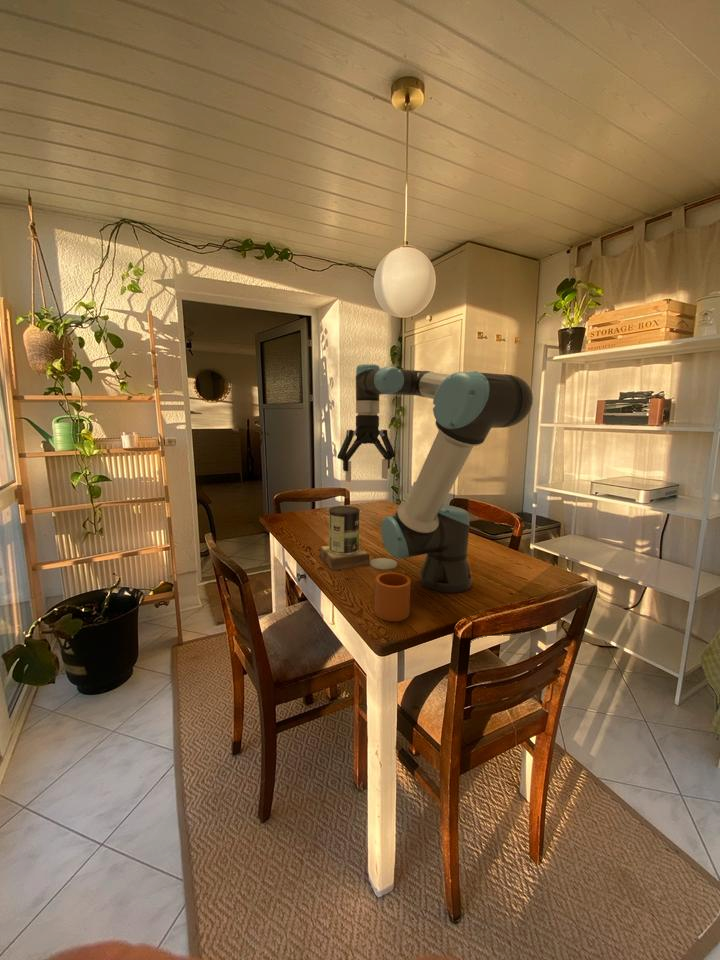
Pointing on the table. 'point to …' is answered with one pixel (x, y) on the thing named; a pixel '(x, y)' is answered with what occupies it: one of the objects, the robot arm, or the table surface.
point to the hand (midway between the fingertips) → (366, 480)
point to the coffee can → (344, 530)
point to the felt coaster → (383, 563)
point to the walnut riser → (344, 559)
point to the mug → (392, 596)
